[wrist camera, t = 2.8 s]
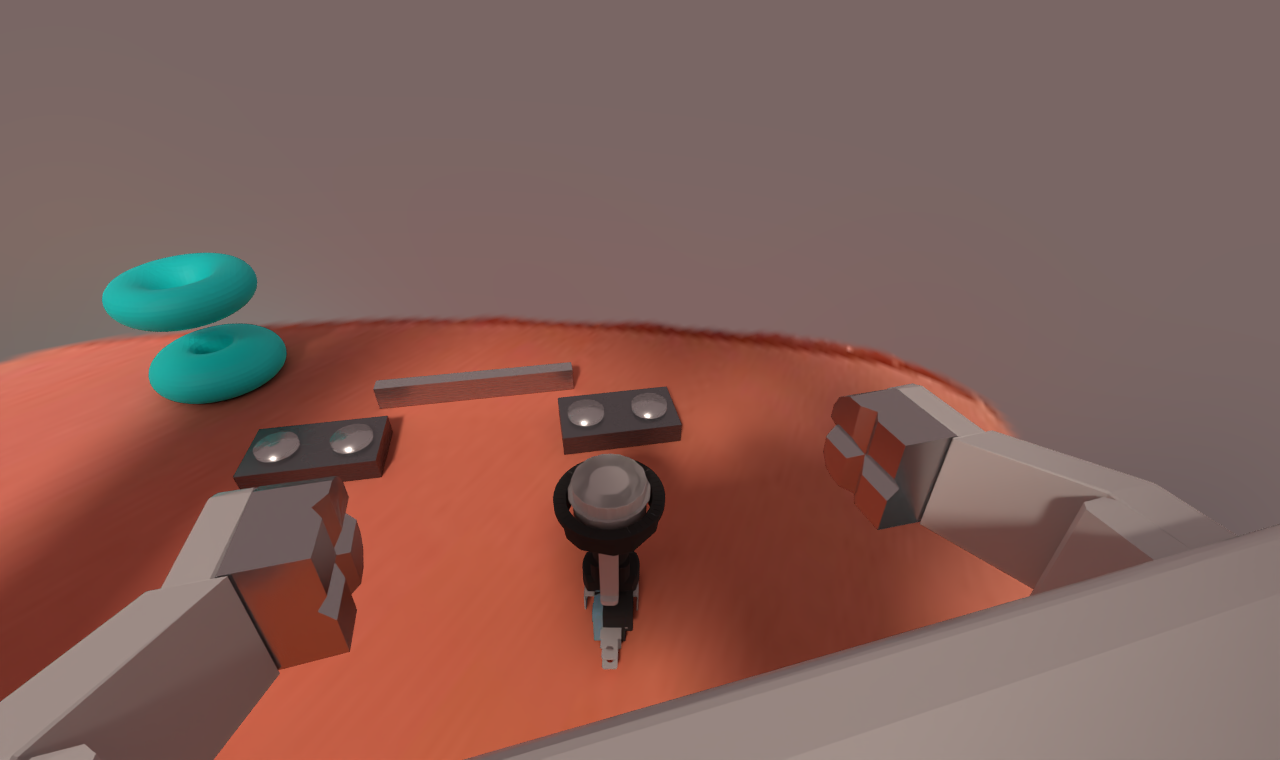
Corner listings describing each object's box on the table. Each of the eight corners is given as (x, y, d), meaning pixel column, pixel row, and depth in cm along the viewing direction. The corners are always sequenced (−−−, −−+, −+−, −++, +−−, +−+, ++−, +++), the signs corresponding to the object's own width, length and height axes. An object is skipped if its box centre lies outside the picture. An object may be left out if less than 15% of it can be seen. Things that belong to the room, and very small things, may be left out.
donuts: (246, 284, 42) (77, 312, 38) (292, 391, 48) (150, 424, 44) (251, 240, 49) (109, 259, 45) (290, 337, 55) (168, 362, 51)
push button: (660, 675, 29) (668, 552, 23) (556, 673, 29) (538, 549, 23) (657, 565, 34) (664, 442, 28) (570, 563, 34) (559, 440, 28)
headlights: (242, 493, 38) (230, 473, 37) (285, 409, 46) (276, 390, 44) (680, 440, 43) (681, 420, 42) (654, 372, 51) (655, 354, 50)
